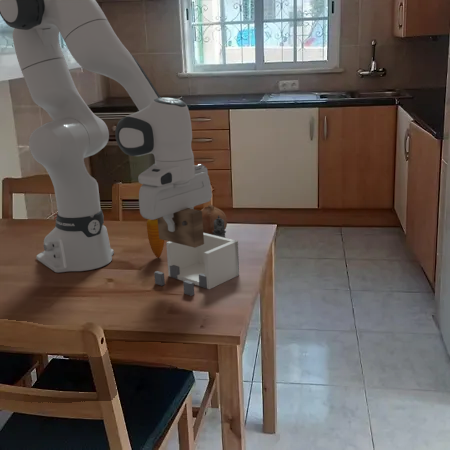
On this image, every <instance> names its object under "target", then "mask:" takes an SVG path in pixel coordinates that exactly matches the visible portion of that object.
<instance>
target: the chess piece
mask: <svg viewBox="0 0 450 450" xmlns="http://www.w3.org/2000/svg"><path fill="white" fill-rule="evenodd" d="M226 233H227V231H226V229H225V228H224V220H223V219H221V218H220V216H218V218H217V219H216V220H214V231H213V234H214V235H215V236H219V237H223V238H226Z"/></svg>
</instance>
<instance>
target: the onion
mask: <svg viewBox="0 0 450 450" xmlns="http://www.w3.org/2000/svg"><path fill="white" fill-rule="evenodd" d="M200 211H202V221H203V233H207V234H211V235H214V234H213V231H214V220H216V219H217V218H218V216H220V218H221V219H223V220H224V228H225V230H226V228H227V227H228V226H227V224H228V219H227V215H226V214H225V212H224V211H223V210H222V209H220V208H218V207H217V206H214V205H212V204H211V203H210V204H209V205H208V206H205V207H203V208H202V209H201V210H200Z"/></svg>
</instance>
